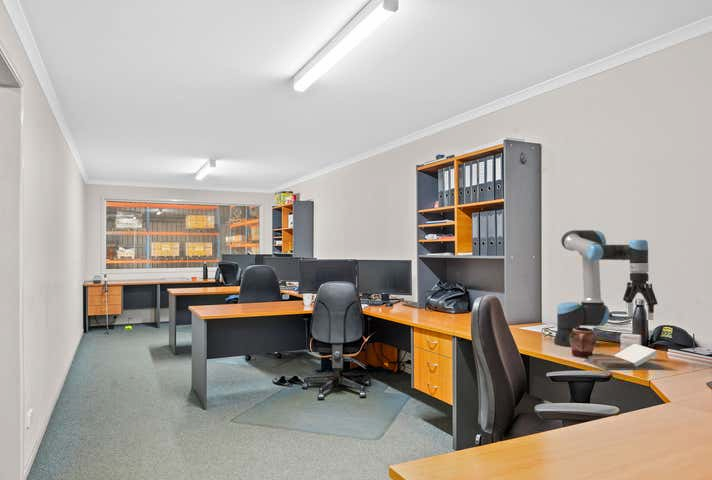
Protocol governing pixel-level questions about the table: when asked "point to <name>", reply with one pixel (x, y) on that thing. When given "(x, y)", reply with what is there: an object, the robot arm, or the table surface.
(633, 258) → the robot arm
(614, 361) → the walnut plank
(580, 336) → the decorative planter
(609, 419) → the table surface
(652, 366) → the underlay mat
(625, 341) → the ink box
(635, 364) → the white flat board
